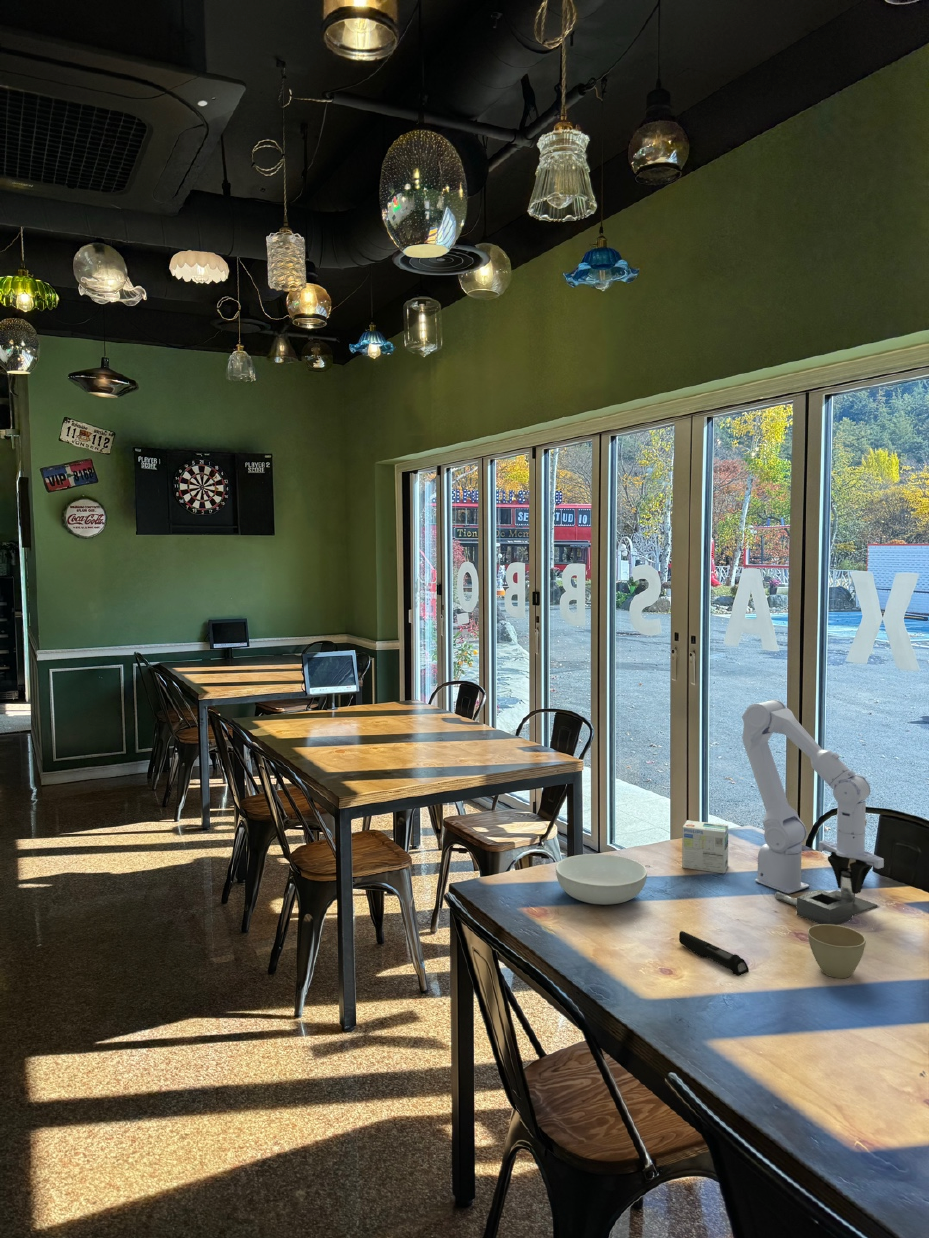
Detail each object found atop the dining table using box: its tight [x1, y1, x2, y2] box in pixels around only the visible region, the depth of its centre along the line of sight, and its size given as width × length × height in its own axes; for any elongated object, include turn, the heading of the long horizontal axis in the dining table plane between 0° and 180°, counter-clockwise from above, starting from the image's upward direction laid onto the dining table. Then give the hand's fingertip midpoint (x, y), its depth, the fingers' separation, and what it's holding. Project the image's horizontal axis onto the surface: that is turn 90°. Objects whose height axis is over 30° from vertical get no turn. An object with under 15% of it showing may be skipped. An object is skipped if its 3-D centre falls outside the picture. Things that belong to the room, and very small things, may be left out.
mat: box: [829, 889, 878, 917], centre depth 189 cm, size 10×9×1 cm
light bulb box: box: [681, 819, 729, 874], centre depth 212 cm, size 11×7×11 cm, turn 66°
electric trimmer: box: [678, 930, 749, 977], centre depth 163 cm, size 4×16×3 cm, turn 32°
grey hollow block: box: [774, 889, 853, 926], centre depth 185 cm, size 16×8×4 cm, turn 32°
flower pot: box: [807, 924, 867, 979], centre depth 157 cm, size 10×10×7 cm
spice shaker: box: [840, 868, 856, 903], centre depth 187 cm, size 3×3×7 cm
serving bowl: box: [555, 853, 648, 905], centre depth 193 cm, size 21×21×7 cm
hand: (849, 889), depth 188 cm, fingers closed on spice shaker, 3 cm apart
